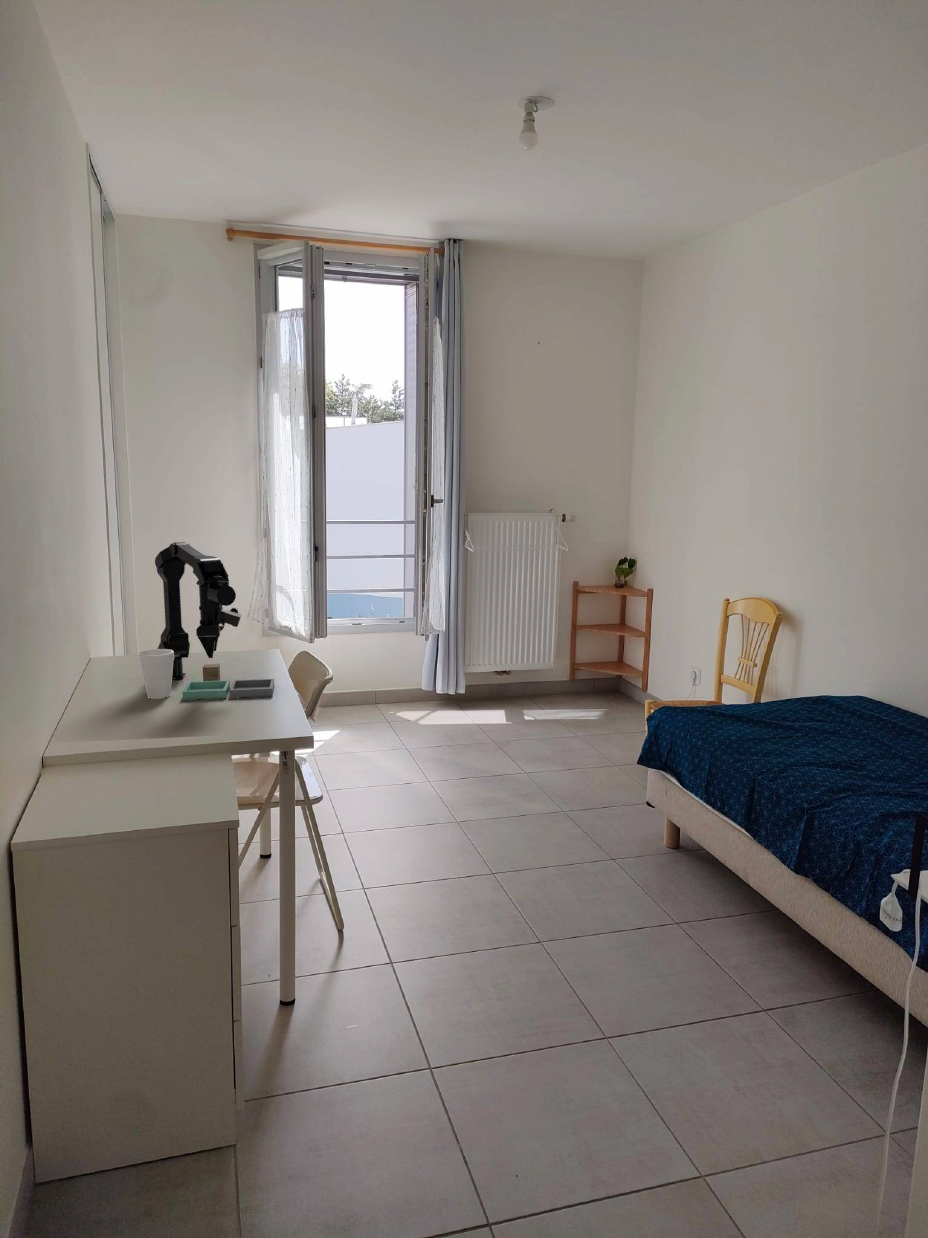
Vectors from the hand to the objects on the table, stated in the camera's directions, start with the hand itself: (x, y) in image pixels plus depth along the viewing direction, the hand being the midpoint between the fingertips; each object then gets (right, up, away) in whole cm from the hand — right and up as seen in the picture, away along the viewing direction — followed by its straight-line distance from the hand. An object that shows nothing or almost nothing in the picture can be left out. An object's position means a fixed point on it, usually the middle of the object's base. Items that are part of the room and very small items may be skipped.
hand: (212, 654), depth 255 cm
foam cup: (-15, -12, -1) cm, 20 cm away
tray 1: (-2, -12, +2) cm, 12 cm away
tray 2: (+11, -11, +4) cm, 16 cm away
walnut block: (-4, -10, +13) cm, 17 cm away
